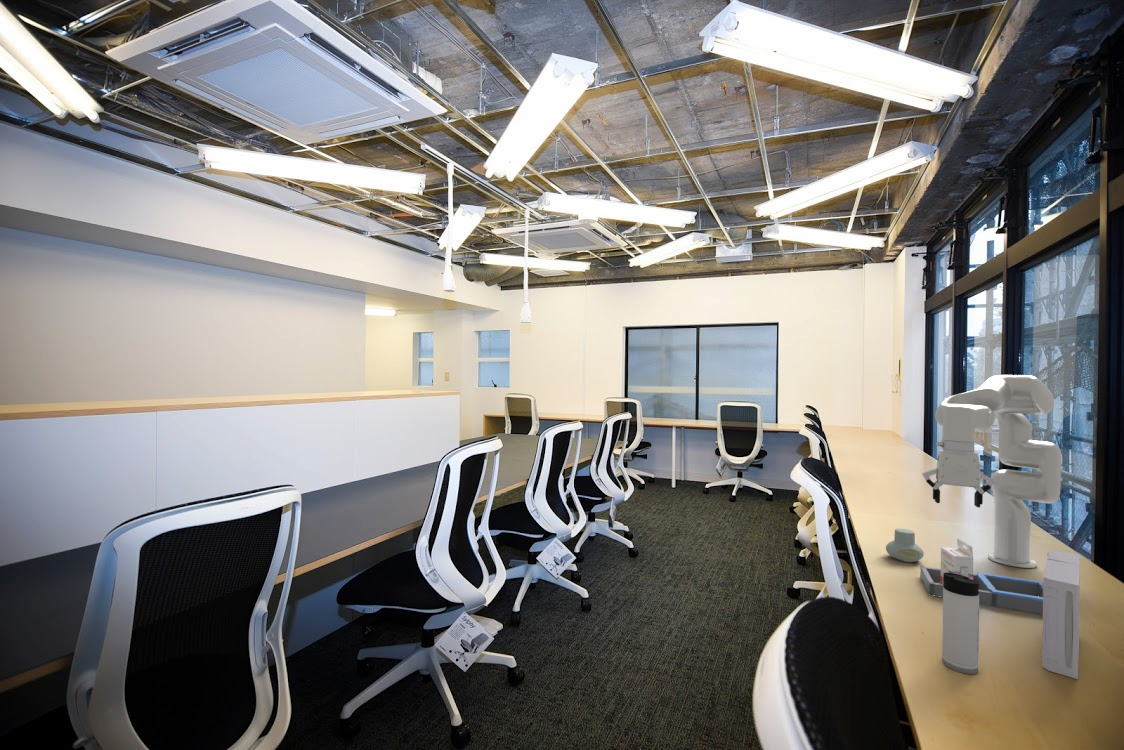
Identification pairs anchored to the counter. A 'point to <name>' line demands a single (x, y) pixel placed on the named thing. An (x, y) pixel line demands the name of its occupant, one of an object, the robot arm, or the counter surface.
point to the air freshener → (904, 546)
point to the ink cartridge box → (957, 560)
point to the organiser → (995, 590)
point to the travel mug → (960, 623)
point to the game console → (1061, 613)
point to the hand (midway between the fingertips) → (957, 504)
